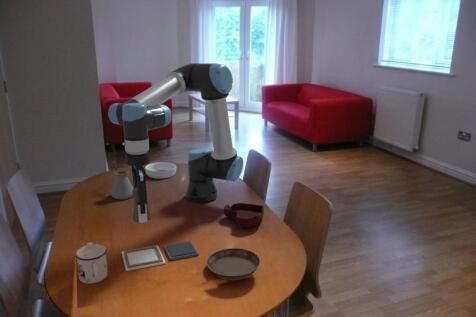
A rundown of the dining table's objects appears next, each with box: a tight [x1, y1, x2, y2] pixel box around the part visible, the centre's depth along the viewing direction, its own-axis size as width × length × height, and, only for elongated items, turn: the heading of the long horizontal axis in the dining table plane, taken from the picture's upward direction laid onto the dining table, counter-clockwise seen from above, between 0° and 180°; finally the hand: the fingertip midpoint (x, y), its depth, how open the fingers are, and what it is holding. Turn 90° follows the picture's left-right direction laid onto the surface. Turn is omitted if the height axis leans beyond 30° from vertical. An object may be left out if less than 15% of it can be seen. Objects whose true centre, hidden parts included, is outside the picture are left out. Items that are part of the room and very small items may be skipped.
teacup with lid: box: [75, 241, 109, 285], centre depth 128 cm, size 12×9×12 cm
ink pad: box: [164, 240, 199, 261], centre depth 147 cm, size 10×10×1 cm
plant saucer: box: [206, 247, 261, 281], centre depth 136 cm, size 18×18×3 cm
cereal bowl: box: [144, 161, 177, 180], centre depth 228 cm, size 17×17×7 cm
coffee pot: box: [109, 160, 133, 201], centre depth 201 cm, size 21×12×15 cm, turn 29°
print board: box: [121, 245, 166, 272], centre depth 142 cm, size 13×13×1 cm
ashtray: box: [223, 202, 265, 229], centre depth 174 cm, size 18×16×5 cm
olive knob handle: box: [132, 187, 152, 223], centre depth 137 cm, size 6×6×11 cm
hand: (141, 218), depth 138 cm, fingers closed on olive knob handle, 6 cm apart
